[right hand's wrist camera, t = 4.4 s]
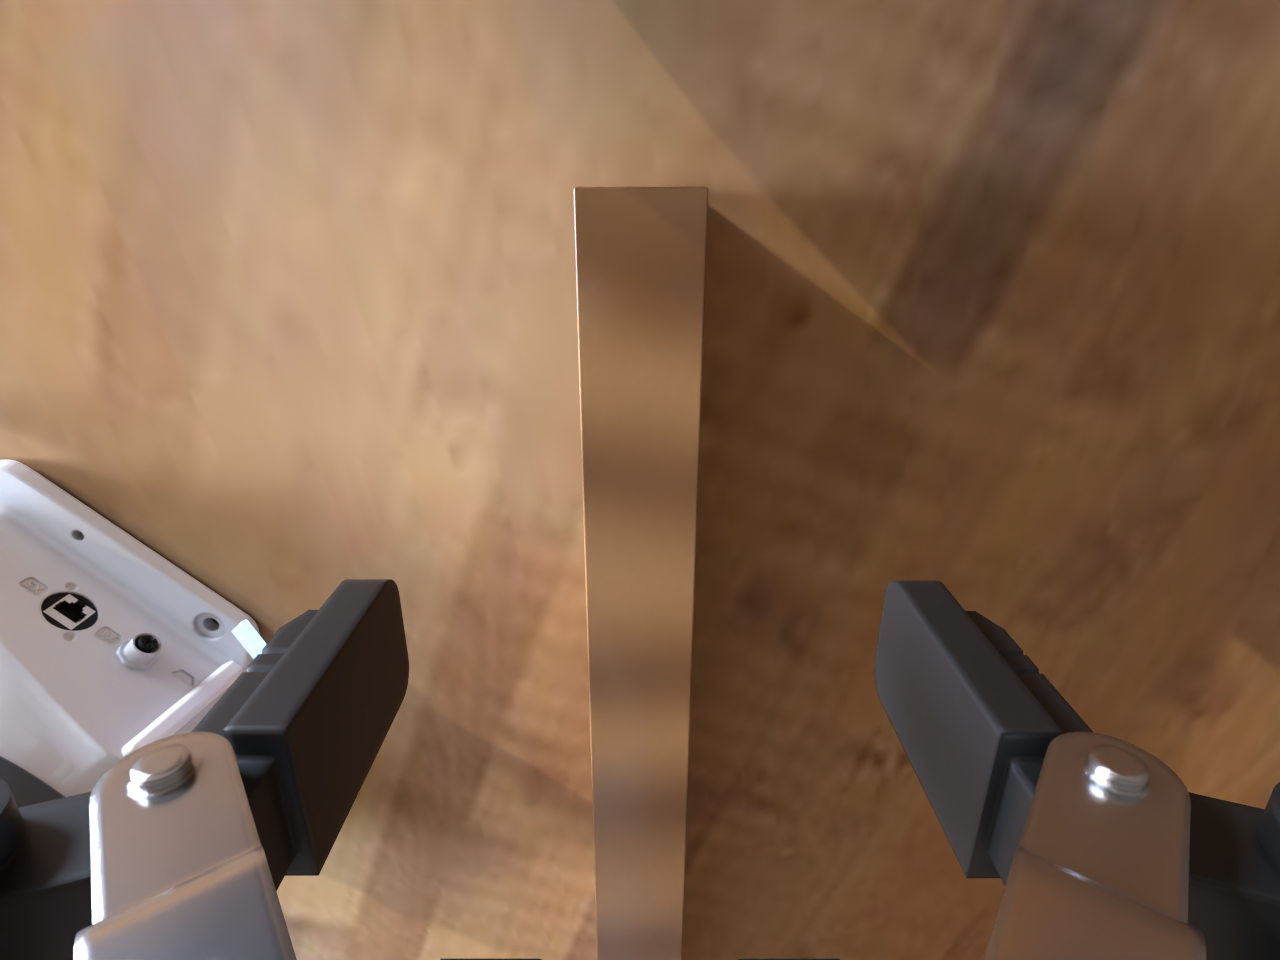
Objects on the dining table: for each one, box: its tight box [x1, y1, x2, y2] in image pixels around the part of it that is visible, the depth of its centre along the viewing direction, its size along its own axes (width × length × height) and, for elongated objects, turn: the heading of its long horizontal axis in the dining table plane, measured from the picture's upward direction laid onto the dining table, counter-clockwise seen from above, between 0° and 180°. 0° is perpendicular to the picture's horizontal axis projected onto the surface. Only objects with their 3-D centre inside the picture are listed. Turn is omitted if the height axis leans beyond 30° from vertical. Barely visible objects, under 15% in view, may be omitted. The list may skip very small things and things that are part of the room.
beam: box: [573, 187, 708, 960], centre depth 41 cm, size 75×4×8 cm, turn 0°
